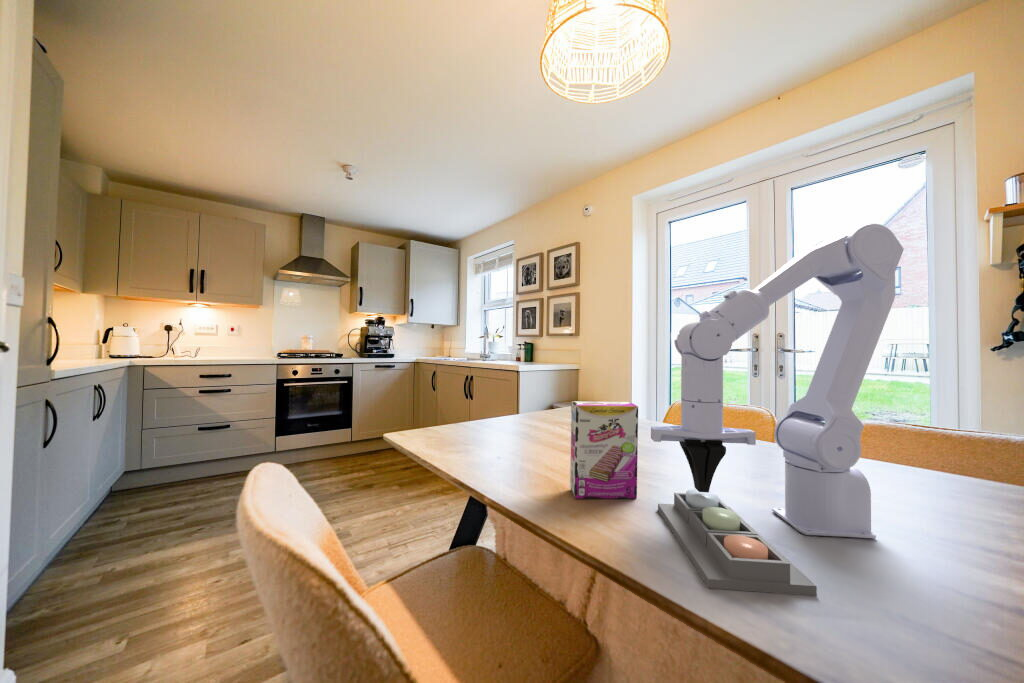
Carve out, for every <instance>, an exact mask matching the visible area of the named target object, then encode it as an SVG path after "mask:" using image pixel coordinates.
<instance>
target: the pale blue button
mask: <svg viewBox="0 0 1024 683" xmlns="http://www.w3.org/2000/svg"><path fill="white" fill-rule="evenodd" d="M685 493H686V504H687V505H688V506H689V507H690V508H700V509H704V508H706V507H718V498H719V496H718V495H717V494H715V493H714V492H712V491H709V492H699V491H698V490H697V489H696V488H695V489H688V490H686V492H685Z"/></svg>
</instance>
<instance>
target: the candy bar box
mask: <svg viewBox="0 0 1024 683" xmlns="http://www.w3.org/2000/svg"><path fill="white" fill-rule="evenodd" d="M570 410H571V415H570V416H571V418H570V419H571V420H570V421H571V422H570V469H569V472H570V473H569V474H570V477H569V478H570V480H569V482H570V483H569V486H570V488H569V489H570V491H571V492H572V494H573V497H574V499H637V498H638V496H637V494H638V457H639V456H638V445H639V444H638V441H639V435H638V434H639V433H638V432H639V431H638V430H639V406H638V405H636V404H635V403H633V402H629V401H595V400H594V401H593V400H592V401H590V400H589V401H586V400H585V401H584V400H580V401H578V400H577V401H576V400H575V401H571V407H570Z"/></svg>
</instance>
